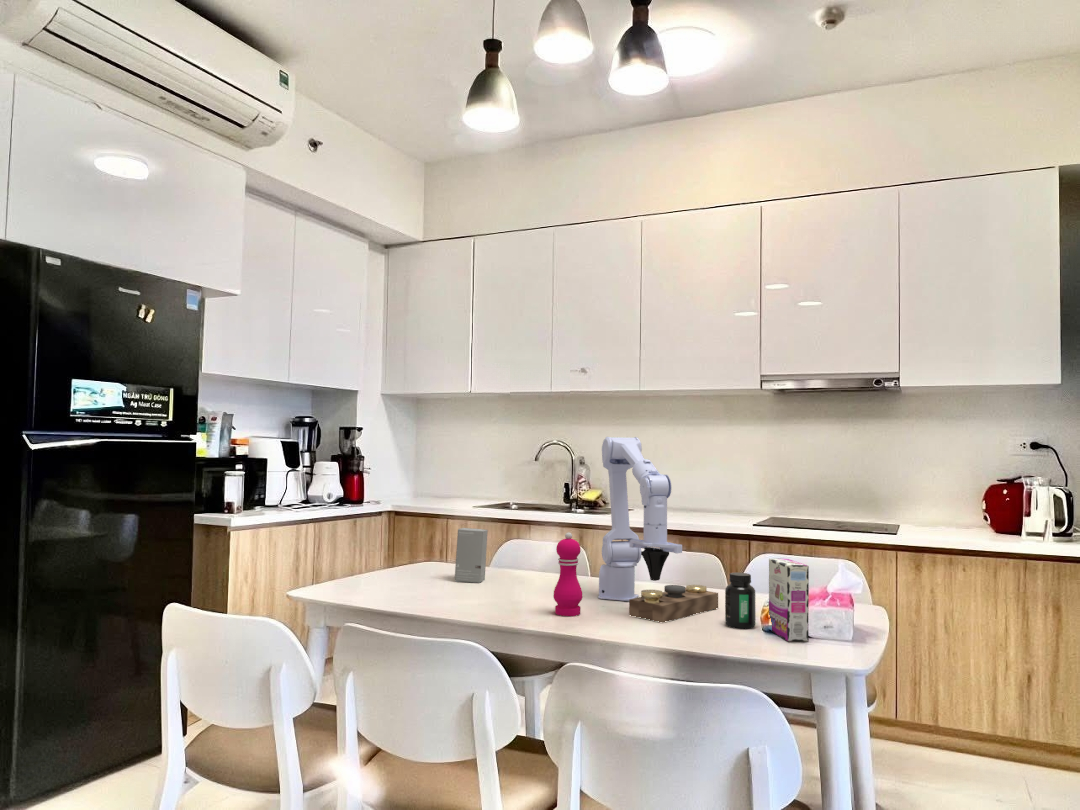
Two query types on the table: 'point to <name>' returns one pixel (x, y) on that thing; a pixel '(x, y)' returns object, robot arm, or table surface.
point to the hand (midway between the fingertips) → (655, 580)
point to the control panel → (673, 606)
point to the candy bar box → (789, 599)
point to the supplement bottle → (740, 602)
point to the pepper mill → (568, 578)
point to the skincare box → (471, 555)
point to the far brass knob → (696, 589)
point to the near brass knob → (651, 596)
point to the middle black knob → (674, 590)
